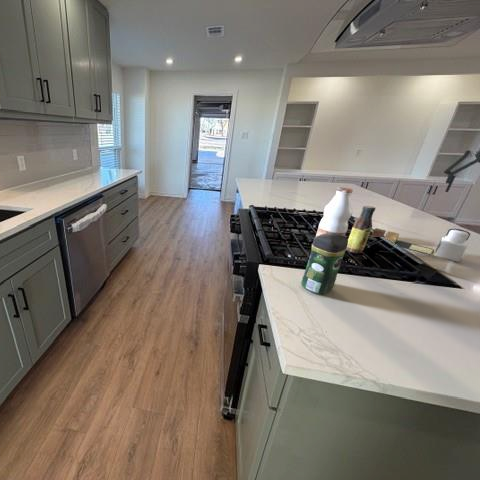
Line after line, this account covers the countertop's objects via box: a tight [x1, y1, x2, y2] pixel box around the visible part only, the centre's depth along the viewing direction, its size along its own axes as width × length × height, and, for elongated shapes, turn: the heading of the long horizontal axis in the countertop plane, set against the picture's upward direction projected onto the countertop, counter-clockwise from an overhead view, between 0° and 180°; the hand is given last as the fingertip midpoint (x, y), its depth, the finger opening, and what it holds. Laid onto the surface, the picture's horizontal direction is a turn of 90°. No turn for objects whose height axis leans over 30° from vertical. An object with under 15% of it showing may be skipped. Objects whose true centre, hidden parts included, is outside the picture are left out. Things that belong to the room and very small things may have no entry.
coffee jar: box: [300, 232, 348, 295], centre depth 79 cm, size 10×8×19 cm
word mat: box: [367, 235, 434, 256], centre depth 118 cm, size 22×10×1 cm, turn 39°
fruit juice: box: [315, 186, 354, 237], centre depth 99 cm, size 9×9×28 cm
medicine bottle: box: [434, 228, 471, 263], centre depth 105 cm, size 7×7×12 cm
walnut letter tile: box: [370, 227, 387, 239], centre depth 123 cm, size 4×4×4 cm
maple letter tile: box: [384, 230, 400, 243], centre depth 120 cm, size 4×4×4 cm
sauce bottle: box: [346, 205, 376, 254], centre depth 106 cm, size 7×6×20 cm
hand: (470, 194), depth 101 cm, fingers open, 13 cm apart
